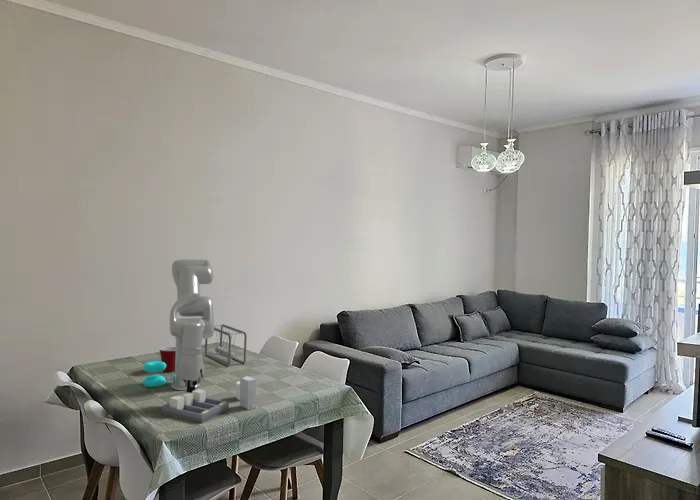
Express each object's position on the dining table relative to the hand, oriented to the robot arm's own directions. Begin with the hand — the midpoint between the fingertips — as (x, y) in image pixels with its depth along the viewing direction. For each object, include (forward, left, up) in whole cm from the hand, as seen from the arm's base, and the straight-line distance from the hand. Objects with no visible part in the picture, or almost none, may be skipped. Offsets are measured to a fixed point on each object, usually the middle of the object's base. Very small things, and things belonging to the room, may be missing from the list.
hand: (190, 395), depth 196 cm
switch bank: (+7, -5, -4) cm, 9 cm away
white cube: (+2, -10, -2) cm, 11 cm away
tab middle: (+2, -5, -2) cm, 6 cm away
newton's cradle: (-32, +64, -4) cm, 72 cm away
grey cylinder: (+14, +17, -4) cm, 22 cm away
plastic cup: (-42, +32, -4) cm, 53 cm away
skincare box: (+22, +9, -4) cm, 24 cm away
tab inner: (+4, 0, -2) cm, 5 cm away
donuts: (-32, +12, -4) cm, 34 cm away
